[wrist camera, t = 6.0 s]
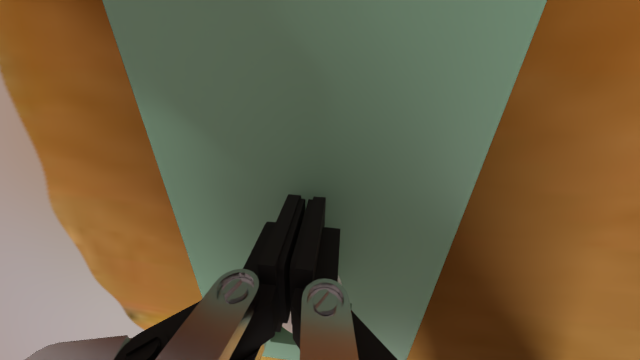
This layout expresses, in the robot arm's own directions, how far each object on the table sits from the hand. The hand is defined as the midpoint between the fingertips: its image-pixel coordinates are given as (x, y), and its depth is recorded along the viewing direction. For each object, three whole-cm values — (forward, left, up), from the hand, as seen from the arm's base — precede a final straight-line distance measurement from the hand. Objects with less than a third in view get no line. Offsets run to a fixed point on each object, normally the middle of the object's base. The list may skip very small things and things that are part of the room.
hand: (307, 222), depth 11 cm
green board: (-1, 0, -4) cm, 4 cm away
